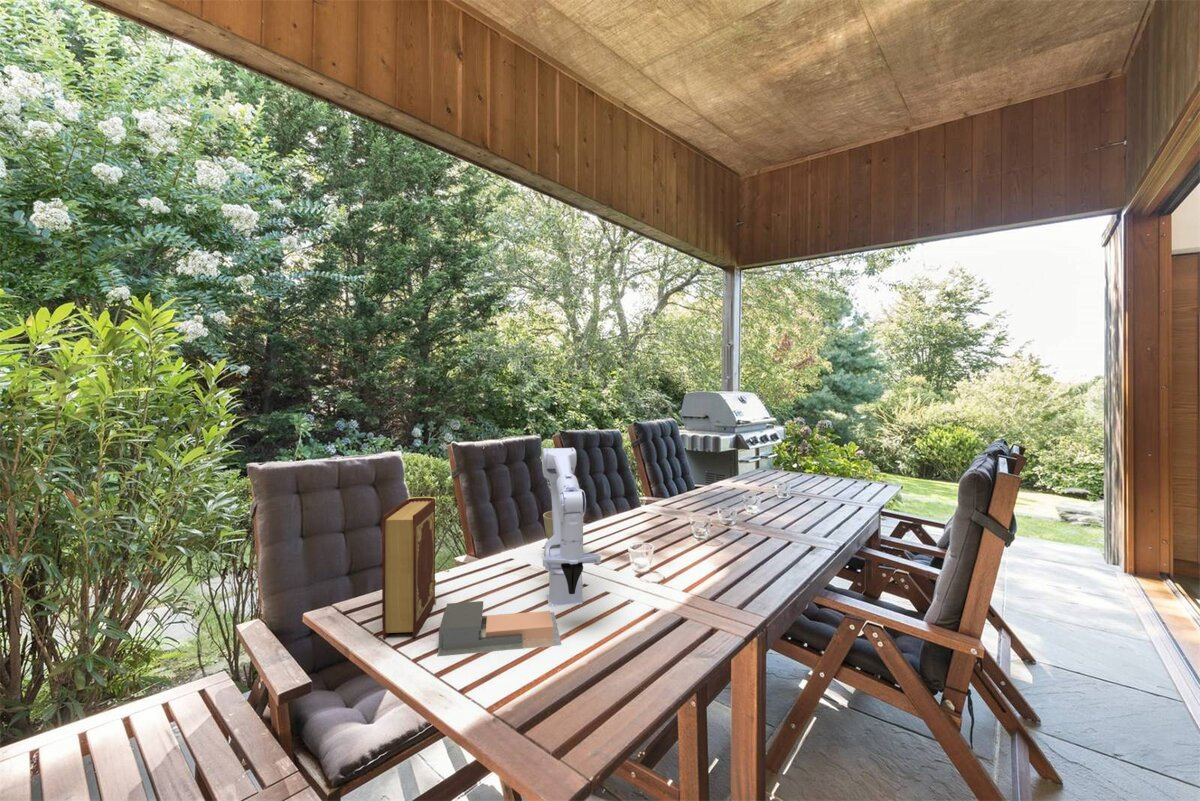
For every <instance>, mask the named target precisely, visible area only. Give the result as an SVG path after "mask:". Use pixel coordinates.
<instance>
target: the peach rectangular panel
mask: <svg viewBox="0 0 1200 801" xmlns="http://www.w3.org/2000/svg"><path fill="white" fill-rule="evenodd" d="M550 612H551V610H544V611H543V610H542V611H532V612H531V611H529V612H516V613H515V614H514V613H506V614H505V613H504V614H503V615H501V614H492V615H491V614H490V616H488V615H486V616H487V622H486V637H492V636H503V635H515V634H522V639H530V638H541V637H553V622H552V617H551V613H550Z"/></svg>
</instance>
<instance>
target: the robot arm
mask: <svg viewBox="0 0 1200 801" xmlns="http://www.w3.org/2000/svg"><path fill="white" fill-rule="evenodd" d="M541 450H542V451H541V464H542V465H541V466H542V468H541V469H542V476H543V478H545V479H546V480H548V481H549V484H550V491H551V511H552V517H553V536H552V537H551V538H550V539H549V540H548V539H547V540H546V542H545V544H544V546H543V547H544V551H543V556H542V567H543V568H545V571H547V572H548V577H549V578H548V582H549V583H548V585H549V586H548V588H549V589H548V590H549V591H548V592H549V593H548V594H547V595H546V600H547V603H548V607H559V606H560V607H562V606H571V605H572V606H573V605H582V604H583V573H582V572H583V570H584V565H583V564H595V563H596V564H597V565H598V564H601V560H602V559H601V554H600V553H588V552H587V553H586V552H584V520H583V514H582V512H583V513H584V514H585V513H586V511H587V510H586V509H587V499H586V493H585V491H584V490H583V489H581V488H580V485H579V481H578V478H577V477H576V475H574V473H575V470H576V466H577V461H578V460H577V458H578V457H577V450H576V449H575V448H574V447H559V448H557V447H555V448H553V447H551V448H550V447H549V448H547V447H544V448H543V449H541ZM557 546H560V547H557ZM551 547H555V548H551Z"/></svg>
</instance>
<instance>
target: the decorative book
mask: <svg viewBox="0 0 1200 801" xmlns="http://www.w3.org/2000/svg"><path fill="white" fill-rule="evenodd" d="M436 504H437V498H436V497H434V496H414V497H408V498H406V499H405V500H404V501H402V502H401V503H399V504H398V505H397V506H395V507H393V508H392V509H390V510H389V511H388V512H386V513H385V514H384V515H383V518H382V533H381V535H382V537H381V538H382V542H381V548H382V549H381V550H382V551H381V555H382V557H381V559H382V560H381V568H382V569H381V571H382V572H381V573H382V574H381V576H382V578H381V580H382V581H381V585H382V586H381V590H382V591H381V594H382V596H381V598H382V599H381V600H382V601H381V602H382V604H381V605H382V606H381V608H382V609H381V610H382V611H381V616H382V617H381V618H382V621H381V622H382V637H383V638H382V639H383V640H384V641H385V640H386V639H387V636H388V635H389V634H393V633H395V634H396V633H397V634H398V633H412V639H413V638H414V637H415V638H416V636H417V635H418V634H417V633H419V632H420V631H419V630H421V629H422V627H423V625H424V624H425V622H426V620H427V619H428V617H429V615H430V614H431V612H432V610H433V608H434V606H435V605H436V604H437V598H436V585H437V580H436V570H437V565H436V536H437V532H436V522H437V517H436ZM415 638H414V639H415Z"/></svg>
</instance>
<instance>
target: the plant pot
mask: <svg viewBox="0 0 1200 801" xmlns="http://www.w3.org/2000/svg"><path fill="white" fill-rule="evenodd" d="M582 514H583V521H584V519H585V513H583V511H582ZM542 517H543V522H544V524H543V525H544V528H545V530H544V531H545V535H546V539H547V541H548V540H549V539H550V538H551V537H552V536H553V517H552V510H549V511H546V512H544V513H543V515H542ZM557 547H560V546H557ZM551 548H555V547H551Z"/></svg>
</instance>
